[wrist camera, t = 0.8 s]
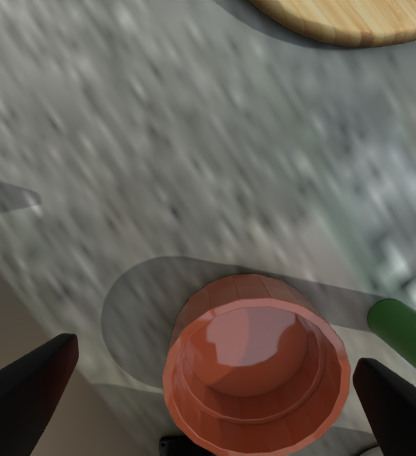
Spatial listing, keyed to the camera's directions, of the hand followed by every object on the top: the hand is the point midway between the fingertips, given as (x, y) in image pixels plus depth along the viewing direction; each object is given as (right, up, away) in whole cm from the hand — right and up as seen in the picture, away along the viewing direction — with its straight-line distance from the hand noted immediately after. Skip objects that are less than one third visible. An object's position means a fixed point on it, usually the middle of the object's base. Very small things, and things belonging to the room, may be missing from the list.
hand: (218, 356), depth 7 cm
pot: (+4, -8, +17) cm, 19 cm away
